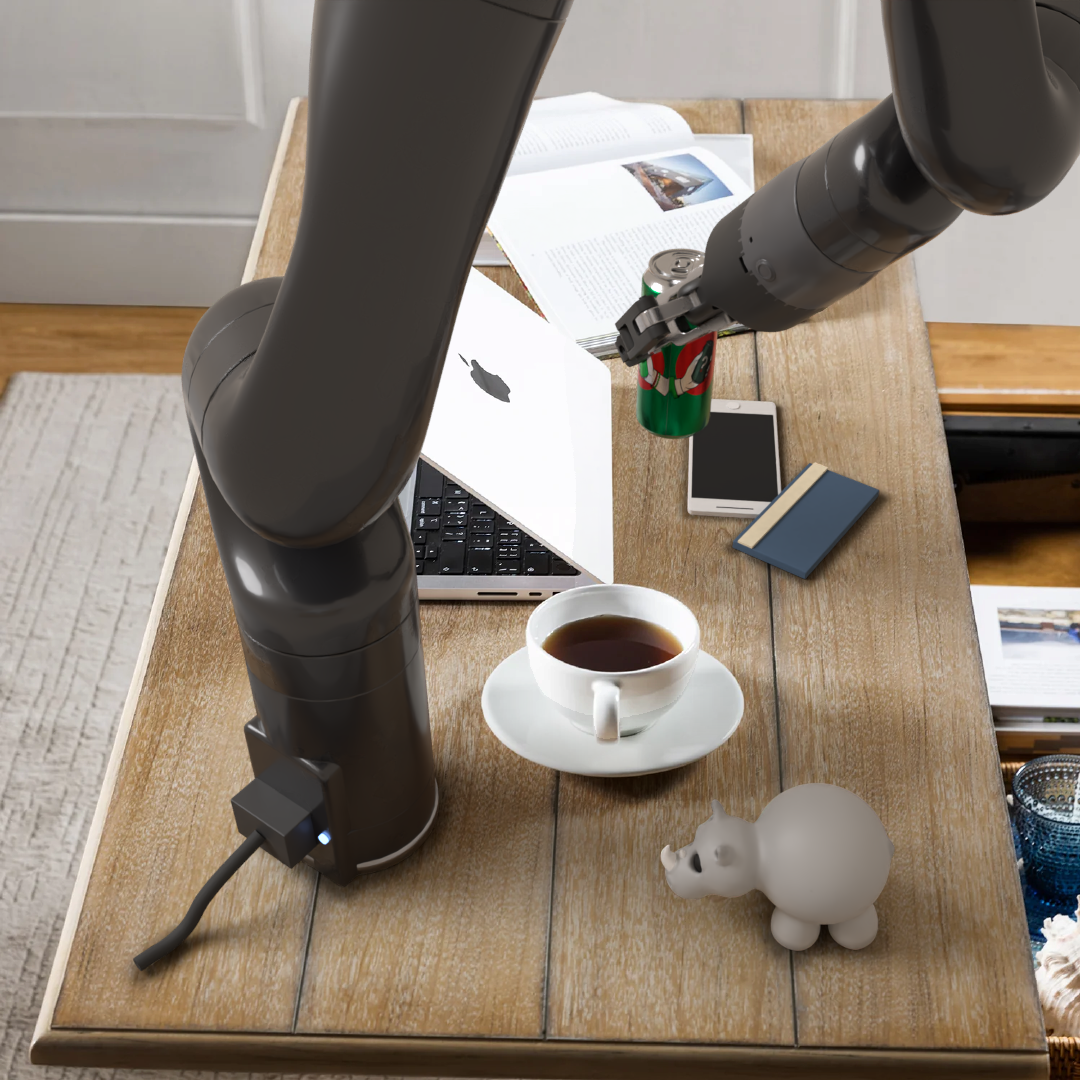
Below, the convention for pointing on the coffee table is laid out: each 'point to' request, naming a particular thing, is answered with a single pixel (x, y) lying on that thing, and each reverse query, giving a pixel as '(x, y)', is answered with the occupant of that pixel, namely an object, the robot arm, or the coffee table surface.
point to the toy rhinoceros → (794, 863)
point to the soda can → (675, 362)
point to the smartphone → (734, 460)
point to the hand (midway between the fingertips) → (659, 339)
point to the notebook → (806, 520)
